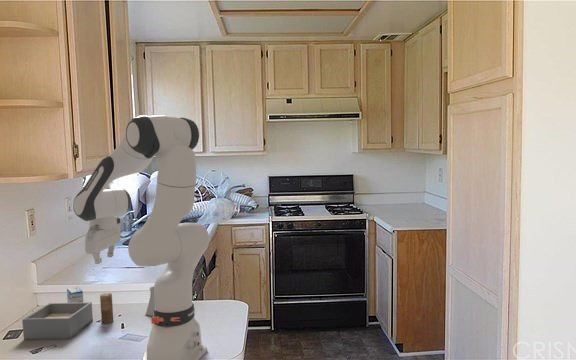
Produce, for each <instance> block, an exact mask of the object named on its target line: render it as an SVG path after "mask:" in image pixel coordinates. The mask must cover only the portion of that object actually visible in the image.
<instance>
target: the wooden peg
mask: <svg viewBox="0 0 576 360" xmlns="http://www.w3.org/2000/svg"><path fill="white" fill-rule="evenodd" d="M99 299H100V300H99V302H100V303H99V304H100V314H101V324H103V325H104V324H105V325H106V324H107V325H108V324H111V323H114V311H113V309H114V308H113V307H114V306H113V294H112V293H110V292H108V293H102V294H100V295H99Z"/></svg>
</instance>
